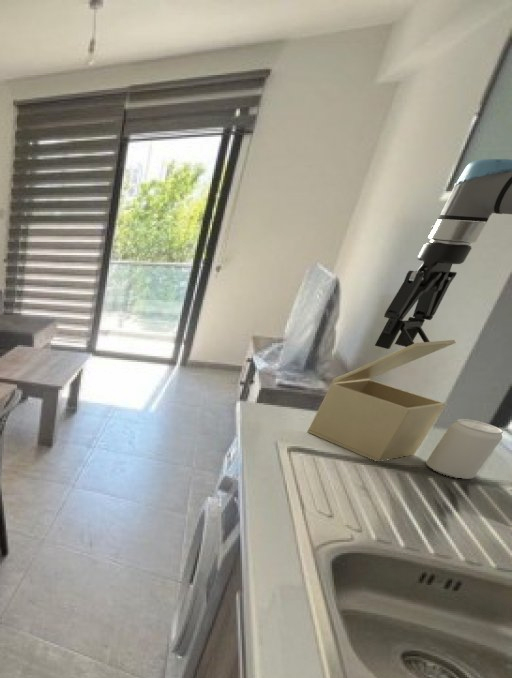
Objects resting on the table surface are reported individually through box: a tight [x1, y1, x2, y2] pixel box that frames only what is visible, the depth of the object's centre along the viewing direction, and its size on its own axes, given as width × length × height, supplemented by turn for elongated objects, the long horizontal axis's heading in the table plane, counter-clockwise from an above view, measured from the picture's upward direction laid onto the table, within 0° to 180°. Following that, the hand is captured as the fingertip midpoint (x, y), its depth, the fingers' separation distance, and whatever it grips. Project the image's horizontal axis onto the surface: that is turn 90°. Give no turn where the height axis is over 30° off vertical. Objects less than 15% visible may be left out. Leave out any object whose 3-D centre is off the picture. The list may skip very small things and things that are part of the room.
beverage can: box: [425, 418, 504, 480], centre depth 109 cm, size 8×8×12 cm
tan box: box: [307, 379, 448, 462], centre depth 120 cm, size 17×15×14 cm
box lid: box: [331, 319, 456, 383], centre depth 116 cm, size 18×15×8 cm
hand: (392, 346), depth 115 cm, fingers closed on box lid, 7 cm apart
